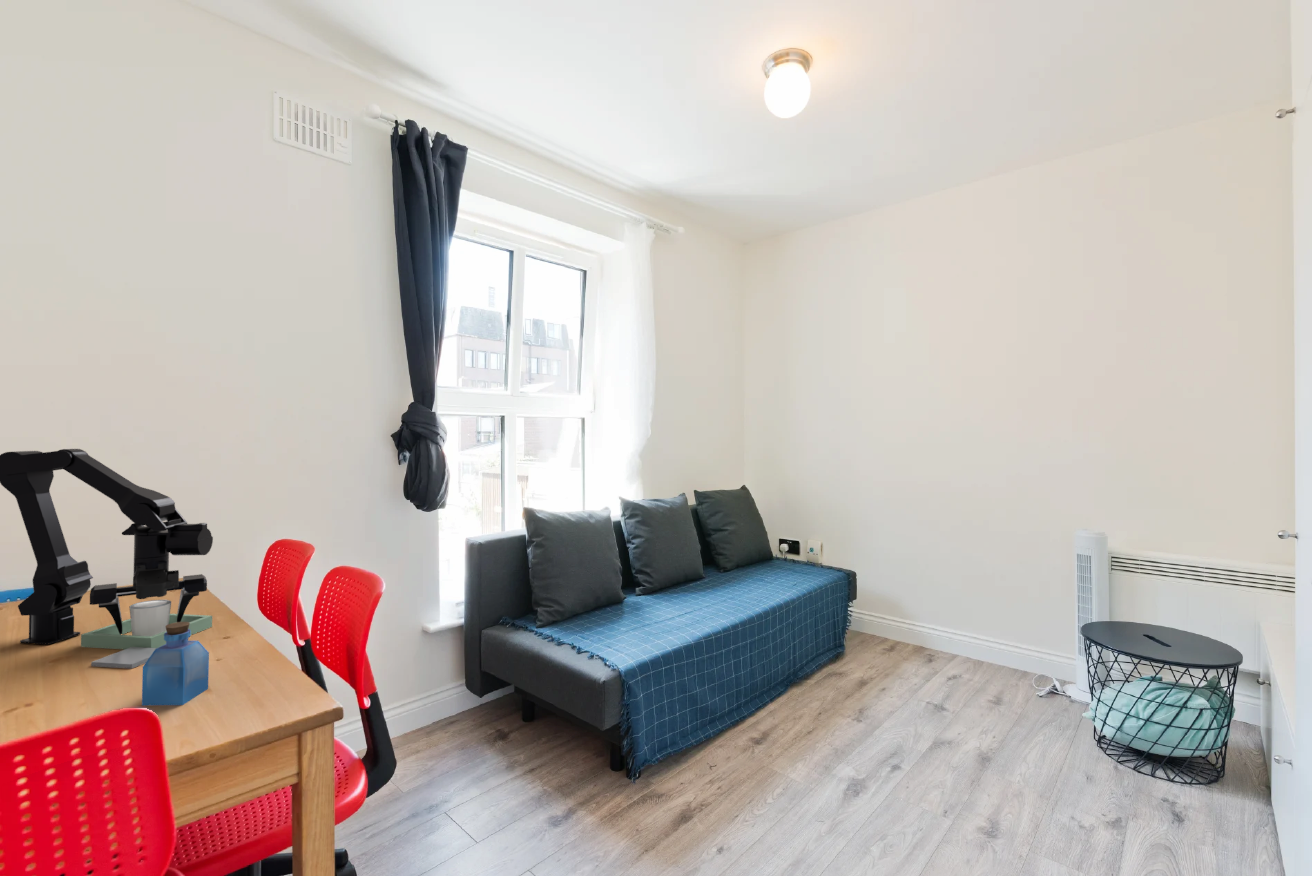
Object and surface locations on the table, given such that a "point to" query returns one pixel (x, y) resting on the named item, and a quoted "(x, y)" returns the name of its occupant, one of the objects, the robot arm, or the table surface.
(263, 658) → the table surface
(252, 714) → the table surface
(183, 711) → the table surface
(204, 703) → the table surface
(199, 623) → the green tray
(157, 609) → the white cup
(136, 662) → the slate tile
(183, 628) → the perfume bottle
